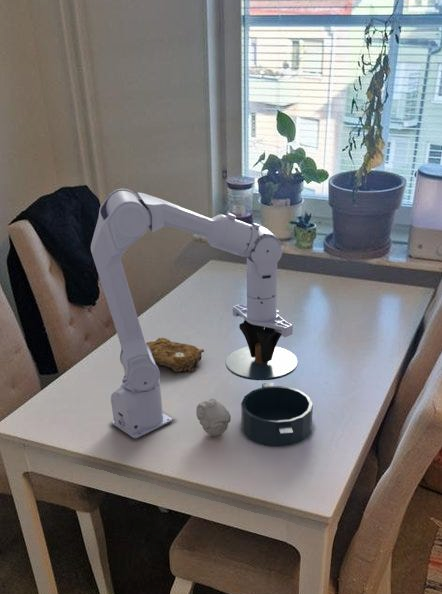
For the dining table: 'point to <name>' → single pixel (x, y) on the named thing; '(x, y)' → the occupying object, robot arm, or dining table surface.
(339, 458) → the dining table surface
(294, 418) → the pan
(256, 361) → the pan lid
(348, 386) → the dining table surface
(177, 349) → the decorative rock
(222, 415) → the grey lumpy piece
